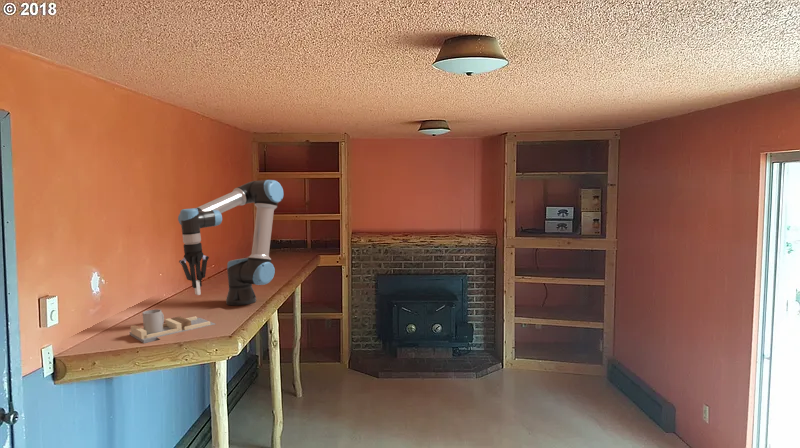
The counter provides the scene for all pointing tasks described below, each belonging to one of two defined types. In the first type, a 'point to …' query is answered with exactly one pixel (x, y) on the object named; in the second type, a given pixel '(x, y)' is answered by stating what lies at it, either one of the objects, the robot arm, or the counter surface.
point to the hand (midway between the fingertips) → (198, 294)
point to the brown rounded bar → (182, 321)
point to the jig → (168, 329)
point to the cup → (153, 321)
